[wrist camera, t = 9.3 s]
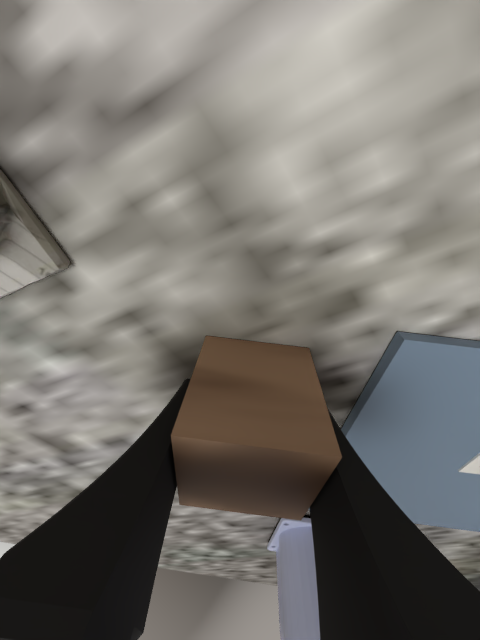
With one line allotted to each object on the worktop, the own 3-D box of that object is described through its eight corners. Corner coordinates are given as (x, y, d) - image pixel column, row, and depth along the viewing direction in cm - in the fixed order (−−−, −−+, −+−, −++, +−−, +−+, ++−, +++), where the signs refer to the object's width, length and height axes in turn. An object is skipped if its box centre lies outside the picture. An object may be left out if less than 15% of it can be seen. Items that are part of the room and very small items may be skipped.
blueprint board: (509, 527, 19) (517, 538, 18) (300, 500, 19) (301, 510, 19) (817, 380, 9) (854, 394, 9) (397, 331, 10) (405, 341, 9)
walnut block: (287, 412, 13) (301, 520, 9) (205, 402, 13) (179, 504, 9) (309, 348, 11) (341, 457, 6) (205, 335, 11) (170, 435, 6)
